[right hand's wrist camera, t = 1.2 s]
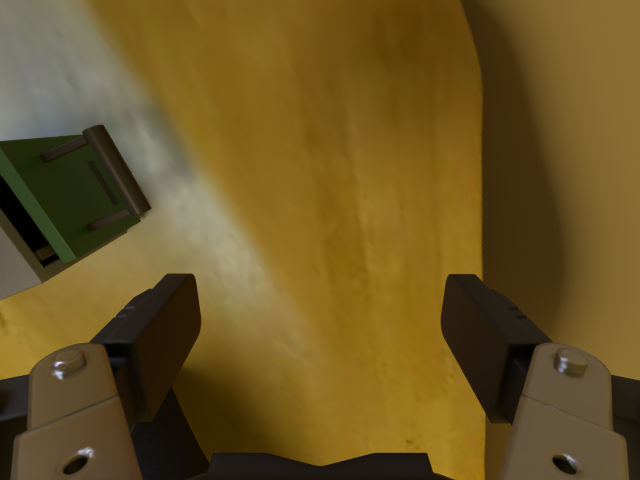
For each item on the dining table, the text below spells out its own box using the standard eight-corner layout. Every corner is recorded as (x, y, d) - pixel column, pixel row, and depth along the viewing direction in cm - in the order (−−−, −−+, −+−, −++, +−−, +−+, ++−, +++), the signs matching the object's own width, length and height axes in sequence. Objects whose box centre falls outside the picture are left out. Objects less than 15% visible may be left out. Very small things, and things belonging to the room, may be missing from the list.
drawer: (139, 110, 32) (63, 108, 22) (188, 201, 35) (139, 233, 25) (-46, 195, 35) (-182, 225, 25) (14, 273, 38) (-88, 325, 28)
